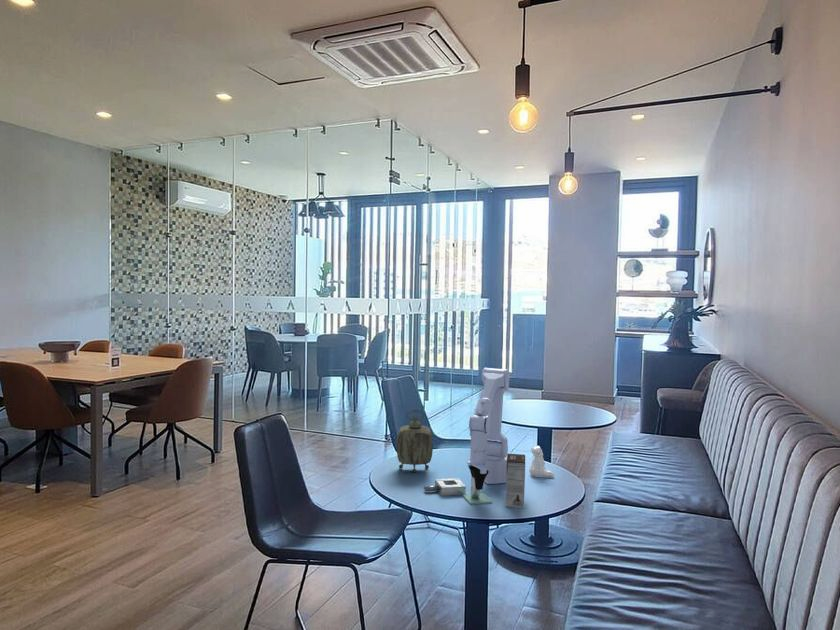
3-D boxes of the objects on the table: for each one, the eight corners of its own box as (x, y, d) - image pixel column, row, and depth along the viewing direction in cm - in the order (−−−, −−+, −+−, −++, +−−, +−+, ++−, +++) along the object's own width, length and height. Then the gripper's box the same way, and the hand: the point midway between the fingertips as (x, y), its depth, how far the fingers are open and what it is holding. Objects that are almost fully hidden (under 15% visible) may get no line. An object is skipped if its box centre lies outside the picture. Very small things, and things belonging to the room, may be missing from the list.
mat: (483, 494, 196) (484, 493, 196) (492, 503, 189) (492, 501, 189) (462, 496, 194) (462, 494, 194) (470, 504, 187) (470, 502, 187)
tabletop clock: (431, 467, 226) (432, 408, 225) (432, 475, 217) (434, 412, 216) (396, 467, 225) (397, 407, 224) (396, 474, 216) (397, 412, 215)
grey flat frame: (457, 485, 205) (458, 478, 205) (465, 494, 196) (465, 486, 196) (421, 487, 202) (422, 480, 202) (428, 496, 193) (428, 488, 193)
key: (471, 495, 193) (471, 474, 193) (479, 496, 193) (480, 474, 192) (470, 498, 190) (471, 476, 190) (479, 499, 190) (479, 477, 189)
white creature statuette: (555, 477, 218) (556, 448, 217) (537, 480, 214) (538, 450, 213) (540, 470, 226) (541, 442, 226) (523, 473, 222) (524, 444, 222)
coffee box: (505, 497, 195) (507, 452, 194) (523, 498, 193) (525, 454, 193) (505, 506, 186) (506, 460, 185) (524, 508, 184) (525, 461, 184)
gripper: (462, 443, 197) (461, 480, 198) (472, 455, 183) (471, 495, 184) (481, 443, 199) (480, 480, 199) (493, 455, 184) (491, 494, 185)
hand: (477, 487), depth 191 cm, fingers closed on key, 3 cm apart
